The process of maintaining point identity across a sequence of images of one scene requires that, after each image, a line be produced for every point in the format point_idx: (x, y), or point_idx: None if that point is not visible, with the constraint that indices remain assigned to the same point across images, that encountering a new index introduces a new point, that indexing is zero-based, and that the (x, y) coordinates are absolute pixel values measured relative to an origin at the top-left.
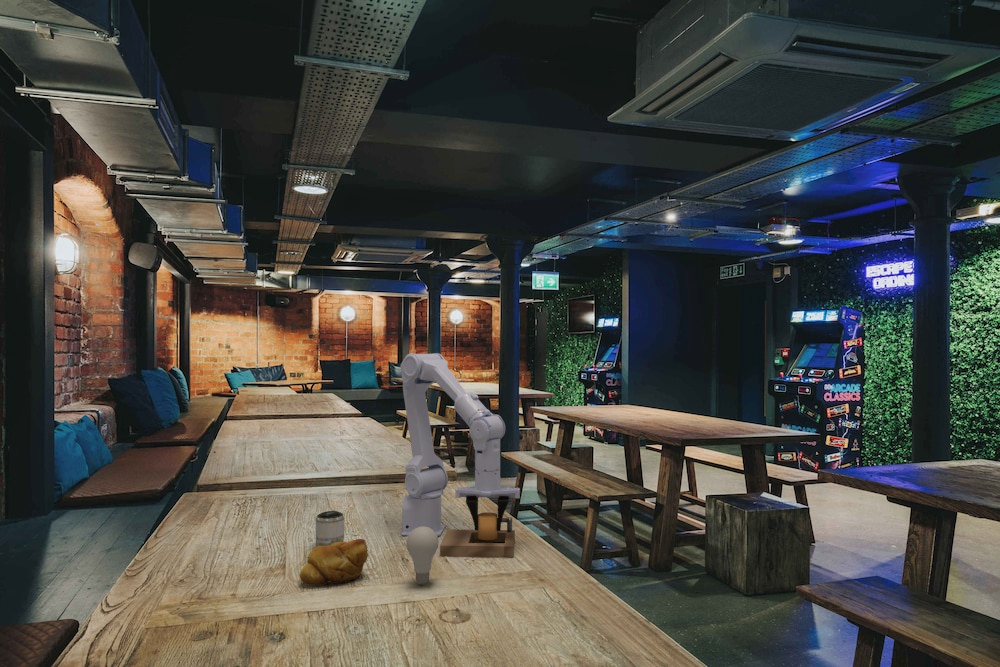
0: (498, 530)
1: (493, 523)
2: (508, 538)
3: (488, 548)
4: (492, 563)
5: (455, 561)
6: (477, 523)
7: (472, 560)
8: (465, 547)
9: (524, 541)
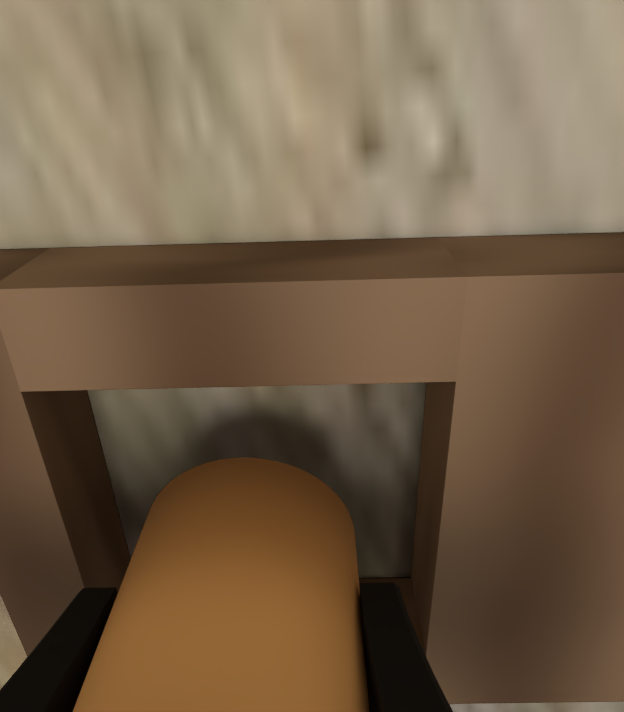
0: (97, 590)
1: (112, 651)
2: (34, 536)
3: (196, 276)
4: (128, 41)
5: (575, 81)
6: (372, 663)
7: (376, 134)
8: (487, 268)
9: (6, 617)
